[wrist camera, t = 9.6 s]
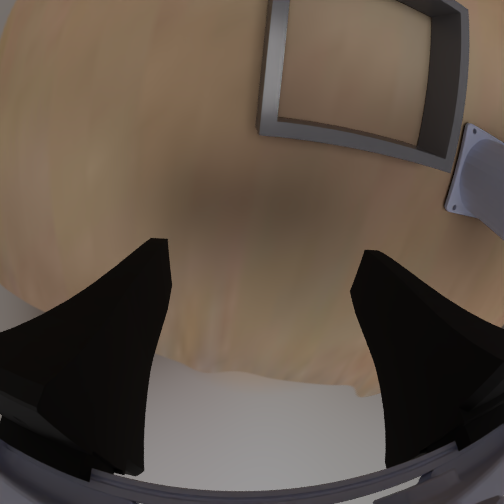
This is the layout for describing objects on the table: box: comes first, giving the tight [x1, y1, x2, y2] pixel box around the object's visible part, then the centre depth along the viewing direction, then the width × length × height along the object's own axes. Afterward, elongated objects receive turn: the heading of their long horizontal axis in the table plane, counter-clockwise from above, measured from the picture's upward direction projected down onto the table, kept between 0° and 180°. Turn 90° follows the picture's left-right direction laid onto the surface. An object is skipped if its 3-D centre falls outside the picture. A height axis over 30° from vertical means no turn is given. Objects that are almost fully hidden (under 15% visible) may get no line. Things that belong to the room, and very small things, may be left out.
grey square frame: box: [256, 0, 469, 173], centre depth 11 cm, size 13×13×4 cm
